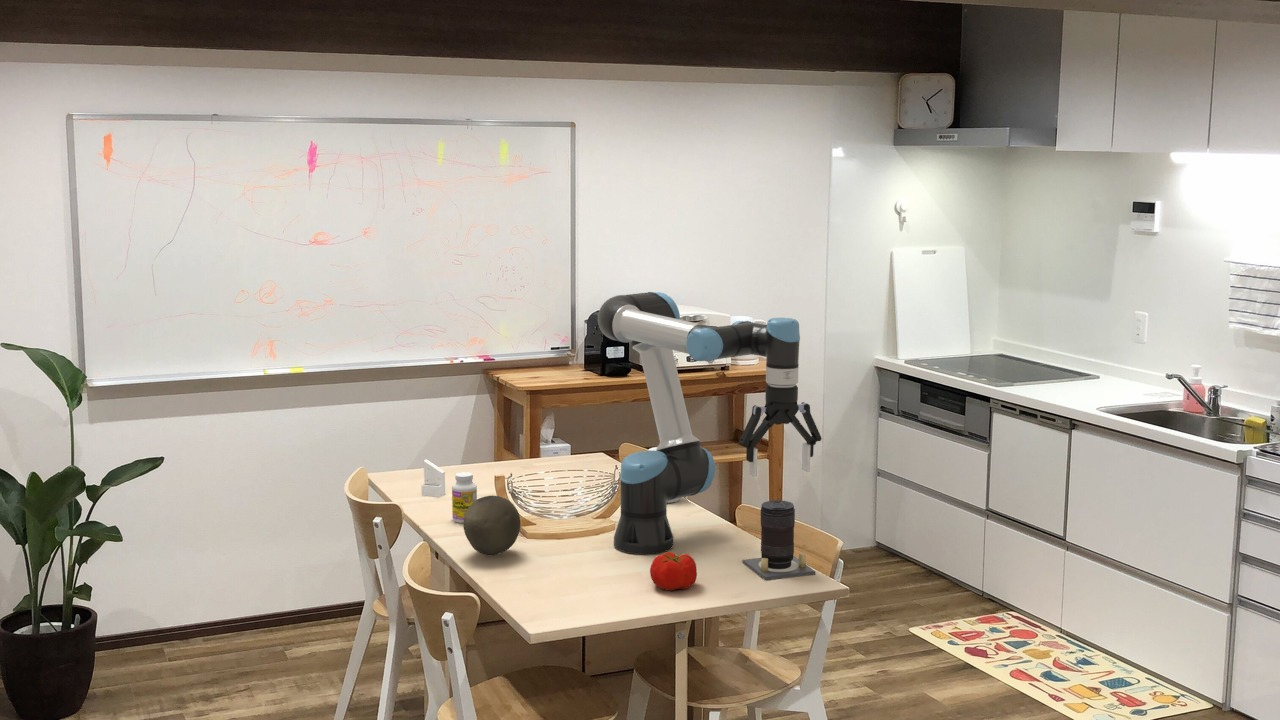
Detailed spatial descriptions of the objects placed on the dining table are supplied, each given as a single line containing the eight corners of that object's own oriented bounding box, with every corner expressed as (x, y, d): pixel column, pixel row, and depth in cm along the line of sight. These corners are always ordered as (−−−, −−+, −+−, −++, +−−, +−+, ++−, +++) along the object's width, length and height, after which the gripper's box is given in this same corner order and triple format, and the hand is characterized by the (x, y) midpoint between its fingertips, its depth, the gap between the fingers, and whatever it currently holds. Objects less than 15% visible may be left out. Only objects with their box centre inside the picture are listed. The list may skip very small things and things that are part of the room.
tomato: (641, 588, 281) (641, 557, 280) (669, 575, 290) (669, 545, 289) (678, 598, 275) (679, 566, 274) (706, 585, 283) (707, 554, 282)
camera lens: (757, 559, 298) (758, 500, 296) (790, 559, 299) (791, 499, 296) (762, 570, 290) (763, 509, 288) (796, 570, 291) (798, 508, 288)
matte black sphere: (458, 550, 308) (456, 492, 306) (513, 544, 313) (512, 487, 311) (470, 568, 295) (469, 507, 293) (527, 561, 300) (527, 501, 298)
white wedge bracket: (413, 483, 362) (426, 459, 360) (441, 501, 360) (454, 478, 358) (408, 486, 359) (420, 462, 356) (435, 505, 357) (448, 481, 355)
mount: (764, 580, 287) (764, 564, 286) (742, 562, 299) (742, 547, 298) (815, 574, 291) (815, 558, 290) (791, 557, 303) (791, 542, 302)
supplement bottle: (448, 522, 331) (447, 476, 329) (458, 515, 338) (456, 470, 336) (472, 524, 330) (470, 478, 328) (481, 517, 336) (480, 471, 334)
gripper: (738, 390, 280) (737, 480, 284) (837, 384, 288) (834, 472, 291) (726, 384, 287) (724, 472, 291) (822, 378, 295) (820, 464, 298)
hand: (779, 472), depth 291 cm, fingers open, 13 cm apart
